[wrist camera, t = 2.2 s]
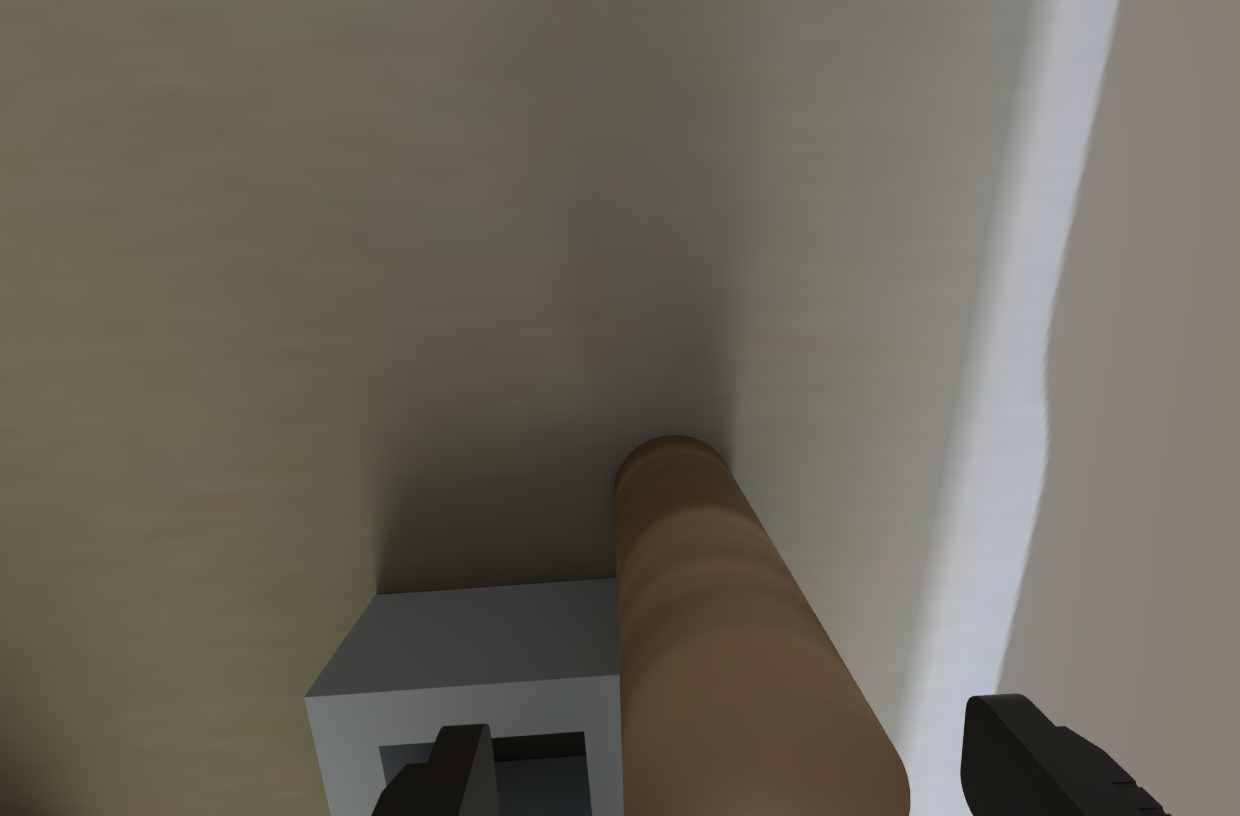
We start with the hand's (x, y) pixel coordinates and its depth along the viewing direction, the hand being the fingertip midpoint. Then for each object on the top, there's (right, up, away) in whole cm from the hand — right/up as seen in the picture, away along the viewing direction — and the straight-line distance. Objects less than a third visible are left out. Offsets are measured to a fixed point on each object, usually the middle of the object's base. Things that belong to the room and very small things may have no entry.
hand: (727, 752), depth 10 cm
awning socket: (-5, -8, +13) cm, 16 cm away
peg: (0, +3, +10) cm, 10 cm away
